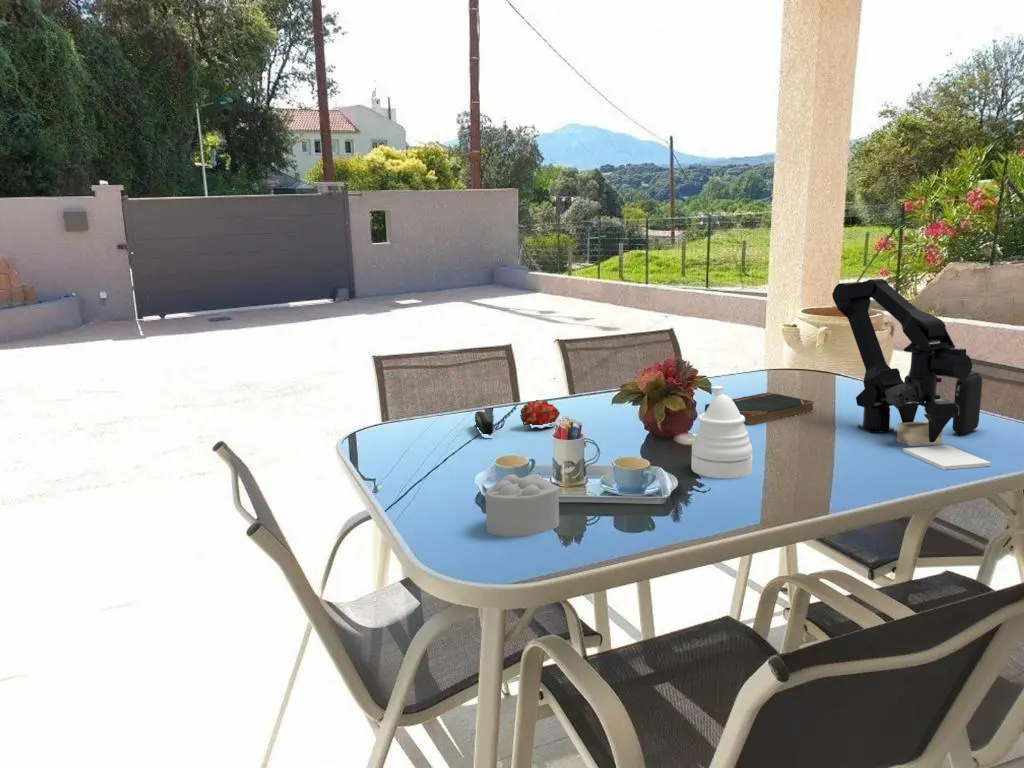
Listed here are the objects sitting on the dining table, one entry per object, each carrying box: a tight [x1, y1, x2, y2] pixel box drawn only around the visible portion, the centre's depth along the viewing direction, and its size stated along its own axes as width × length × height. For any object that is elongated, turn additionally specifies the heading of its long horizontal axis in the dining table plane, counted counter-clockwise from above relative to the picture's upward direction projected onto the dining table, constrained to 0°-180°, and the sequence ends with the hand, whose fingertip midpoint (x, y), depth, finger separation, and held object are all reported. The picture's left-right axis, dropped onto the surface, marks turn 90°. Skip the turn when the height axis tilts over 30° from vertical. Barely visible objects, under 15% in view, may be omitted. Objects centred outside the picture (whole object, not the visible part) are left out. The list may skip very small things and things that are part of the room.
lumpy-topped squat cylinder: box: [485, 473, 560, 538], centre depth 145 cm, size 10×13×9 cm
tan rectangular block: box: [896, 420, 943, 447], centre depth 190 cm, size 5×8×5 cm, turn 99°
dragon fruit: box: [519, 399, 561, 426], centre depth 214 cm, size 8×8×12 cm
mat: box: [902, 444, 992, 471], centre depth 177 cm, size 14×11×1 cm
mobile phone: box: [474, 410, 494, 434], centre depth 212 cm, size 5×3×15 cm
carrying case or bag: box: [952, 372, 983, 436], centre depth 195 cm, size 11×3×15 cm, turn 127°
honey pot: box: [690, 385, 753, 480], centre depth 173 cm, size 13×13×18 cm
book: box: [704, 391, 816, 426], centre depth 223 cm, size 17×4×25 cm
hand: (919, 437), depth 190 cm, fingers open, 9 cm apart
